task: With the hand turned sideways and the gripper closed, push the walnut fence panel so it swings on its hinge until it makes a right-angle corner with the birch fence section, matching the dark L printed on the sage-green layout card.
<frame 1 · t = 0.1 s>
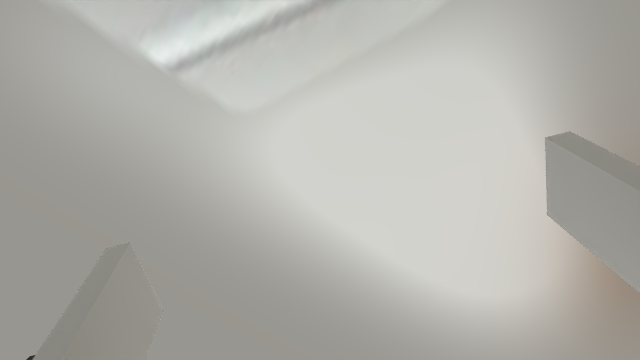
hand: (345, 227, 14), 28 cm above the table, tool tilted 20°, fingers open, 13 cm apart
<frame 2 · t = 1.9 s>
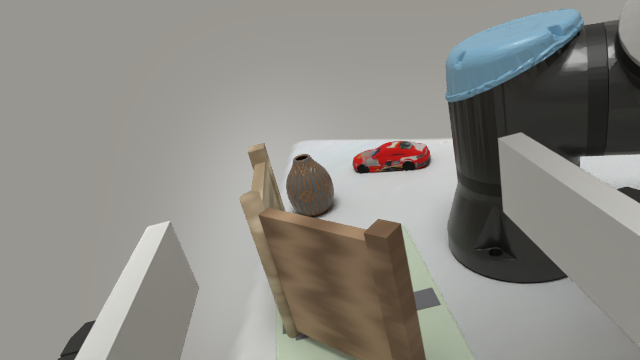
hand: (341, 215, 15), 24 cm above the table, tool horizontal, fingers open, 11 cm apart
birch fence section: (294, 295, 50), resting on layout card
vase: (316, 210, 67), on the table
layout card: (359, 317, 44), on the table
race car: (391, 167, 75), on the table
walnut panel: (339, 291, 36), point 8 cm above the table, hinge at -45.0°
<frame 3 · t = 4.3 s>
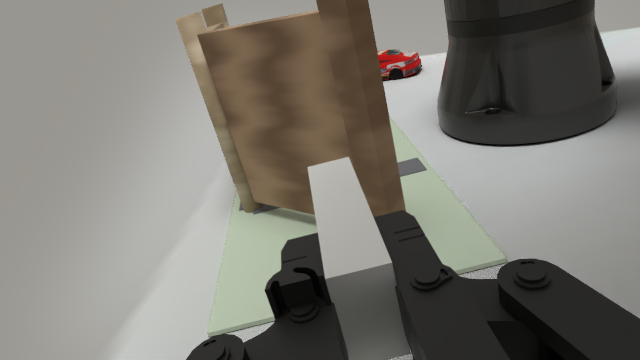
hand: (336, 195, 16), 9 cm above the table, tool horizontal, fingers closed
birch fence section: (258, 181, 43), resting on layout card
layout card: (330, 191, 37), on the table
race car: (379, 80, 68), on the table
walnut panel: (296, 123, 29), point 8 cm above the table, hinge at -45.0°
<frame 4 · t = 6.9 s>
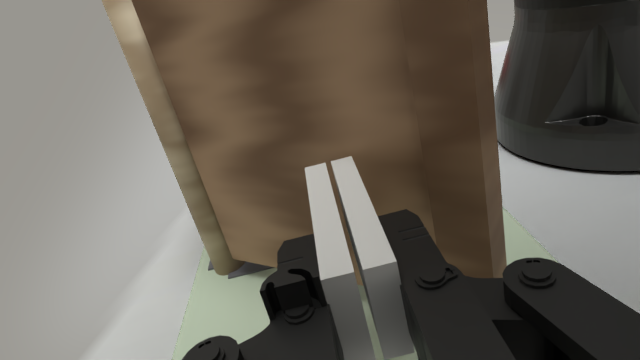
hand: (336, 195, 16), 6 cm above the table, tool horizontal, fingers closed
birch fence section: (241, 217, 30), resting on layout card
layout card: (345, 240, 25), on the table
walnut panel: (310, 133, 17), point 8 cm above the table, hinge at -37.0°, touching gripper
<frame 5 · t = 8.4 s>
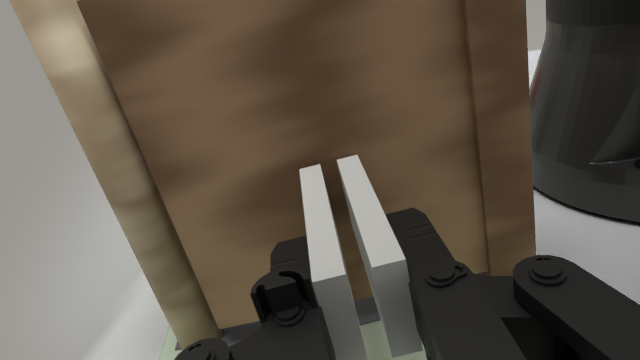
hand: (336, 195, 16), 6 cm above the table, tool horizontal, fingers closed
birch fence section: (220, 270, 25), resting on layout card
layout card: (346, 312, 20), on the table
walnut panel: (336, 142, 16), point 8 cm above the table, hinge at -3.1°, touching gripper
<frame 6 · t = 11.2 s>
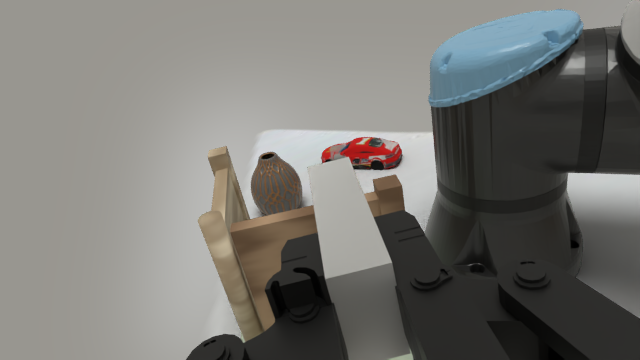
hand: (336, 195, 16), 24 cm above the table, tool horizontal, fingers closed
birch fence section: (260, 313, 46), resting on layout card
vase: (283, 211, 63), on the table
race car: (361, 164, 71), on the table
walnut panel: (330, 274, 37), point 8 cm above the table, hinge at -3.1°
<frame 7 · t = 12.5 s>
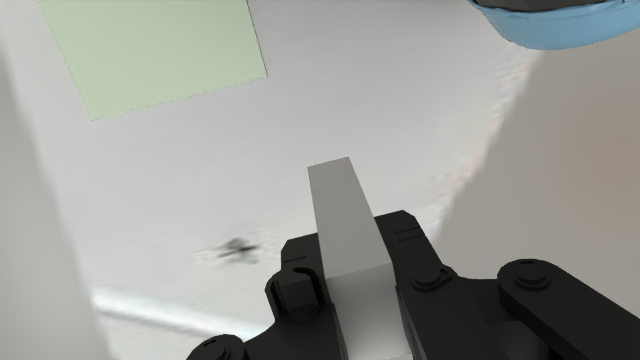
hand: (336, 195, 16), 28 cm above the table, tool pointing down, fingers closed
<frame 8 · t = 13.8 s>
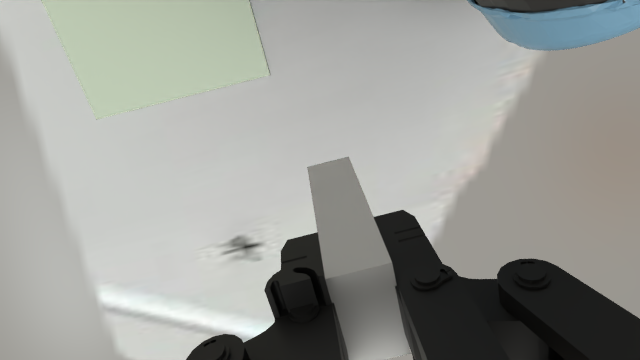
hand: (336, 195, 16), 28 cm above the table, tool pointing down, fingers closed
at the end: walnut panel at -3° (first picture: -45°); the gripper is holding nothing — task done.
